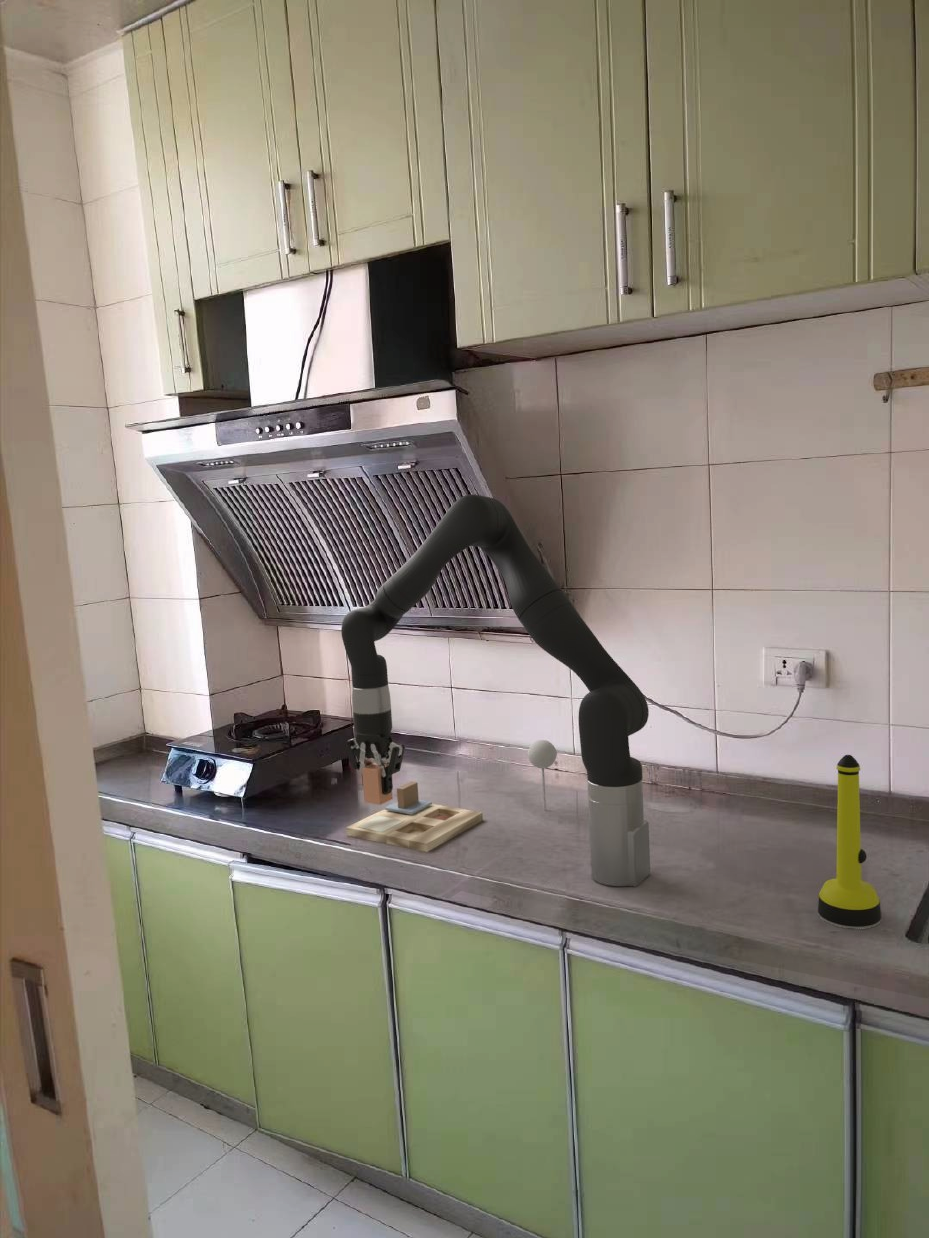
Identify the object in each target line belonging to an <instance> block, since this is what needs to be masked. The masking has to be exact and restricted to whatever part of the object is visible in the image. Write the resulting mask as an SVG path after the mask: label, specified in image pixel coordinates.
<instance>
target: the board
mask: <svg viewBox="0 0 929 1238" xmlns="http://www.w3.org/2000/svg"><path fill="white" fill-rule="evenodd" d="M483 816H484V815H483V812H482V811H478V810H477V811H476V810H470V809H464V808H460V807H459V808H458V807H453V806H446V805H440V804H435V803H432V805H430V806H428V807H426V808H424V809H422V810H420V811H418V812H416V813H414V814H412V815H411V814H405V813H400V812H394V811H389V810H385V808H384V809H381V810H380V811H378V812H376V813H374V814H371V815H369V816H367V817H365V818H363V819H361V820H359V821H357V822H355V823H352V824H350V825H348V826H346V827H345V829H346V836H348V837H353V838H358V839H362V840H366V841H367V840H368V841H373V842H377V843H382V844H386V845H392V846H395V847H396V846H397V847H401V848H405V849H410V850H416V851H420V852H425V853H428V852H430V851H432V850H434V849H435V848H437V847H438V846H440V845H442V844H444V843H446V842H448V841H449V840H451V839H452V838H455V837H456V836H458V835H459V834H461V833H463V832H465V831H466V830H468V829H470V828H472V827H473V826H475V825H478V824H479V823H480V822H482V821H483V820H484V817H483Z"/></svg>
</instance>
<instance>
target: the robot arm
mask: <svg viewBox="0 0 929 1238" xmlns="http://www.w3.org/2000/svg"><path fill="white" fill-rule="evenodd" d="M470 547H477V548H480V549H481V550H482V551H483V552H484V554H486V555H487V556H488V557H489V559H490V561H492V563H493V564H494V565H495V567H496V568H497V569H498V572H500V574H501V576H502V578H503V580H504V583H505V587H506V591H507V595H508V598H509V599H508V600H509V602H510V606H511V608H512V610H513V613H514V614H515V616H516V618H517V619H518V621H519V622H520V623H521V625H522V627H523V628H524V629H525V630H526V632H527V633H528V635H529V636H530V638H531V639H532V640H533V642H534V643H536V645H537V646H539V648H541V649H542V650H544V651H545V652H546V653H547V654H549V655H550V656H552V657H553V658H554V659H556V660H557V661H558V662H560V663H562V664H563V665H564V666H566V667H568V668H569V669H570V670H572V672H573V673H575V675H576V676H577V677H578V678H579V679H580V680H581V682H582V683H583V684H584V686H585V687H586V688H587V690H588V693H587V694H585V695H584V696H583V698H582V700H581V701H580V704H579V709H578V717H577V718H578V733H579V735H578V736H579V743H580V745H579V746H580V755H581V760H582V761H581V762H582V763H583V766H584V768H585V770H586V778H587V781H586V782H587V801H588V802H587V803H588V804H587V805H588V826H589V847H590V849H589V851H590V853H589V854H590V869H591V871H590V872H591V878H592V879H593V880H594V881H595V882H597V883H599V884H602V885H604V886H605V885H606V886H612V887H627V886H629V887H637V886H638V885H639V884H641V883H642V882H643V881H644V880H645V879H647V877H648V876H650V875H651V859H650V858H651V857H650V856H651V855H650V854H651V853H650V824H649V821H648V820H645V819H644V817H645V815H644V790H643V788H644V787H643V783H644V782H643V766H642V763H641V762H640V760H638V759H637V758H635V757H632V756H631V753H630V742H629V741H630V740H629V736H632V735H634V734H635V733H637V732H640V731H641V730H642V729H643V728H644V727H645V726H646V725H647V722H648V719H649V712H650V711H649V704H648V701H647V700H646V697H645V695H644V694H643V692H642V690H641V689H640V688H639V687H638V686H637V684H636V683H635V682H634V681H633V680H632V678H630V676H629V675H628V674H627V673H626V672H625V670H624V669H622V667H621V666H620V665H619V664H618V663H617V661H615V659H613V657H612V656H611V655H610V654H609V653H608V651H607V650H606V648H604V646H603V645H602V644H601V642H600V640H598V638H597V637H596V636H595V634H594V632H593V630H592V629H590V627H589V626H588V624H587V623H586V621H584V619H583V617H581V615H580V613H579V612H578V610H577V609H576V607H575V606H574V605H573V603H572V602H571V600H570V599H569V598H568V596H567V595H566V593H565V592H564V590H563V589H562V588H561V587H560V585H559V584H558V583H557V582H556V581H555V579H554V578H553V577H552V575H551V574H550V572H549V571H548V569H547V568H546V567H545V566H544V564H543V563H542V561H540V559H539V558H538V557H537V556H536V554H535V553H534V551H533V550H532V549H531V547H530V546H529V544H528V542H527V541H526V539H525V537H524V535H523V534H522V532H521V530H520V529H519V527H518V525H517V523H516V521H515V520H514V518H513V516H512V514H511V513H510V511H509V510H508V508H507V507H506V506H505V504H503V503H502V502H501V501H500V500H498V499H496V498H494V497H490V496H484V495H479V494H465V495H463V496H461V497H460V498H458V499H457V500H456V501H455V502H453V504H452V505H451V506H450V507H449V508H448V510H447V511H446V513H445V514H444V515H443V517H441V519H440V520H439V522H438V523H437V525H436V526H435V527H434V529H433V530H432V531H431V532H430V533H429V535H428V536H427V538H426V539H425V540H424V542H423V543H422V544H421V545H420V546H419V548H418V549H417V550H416V551H415V552H414V553H413V554H412V556H411V557H410V558H408V560H407V561H405V563H403V565H402V566H401V567H399V569H398V570H397V571H395V573H394V574H392V575H391V576H390V577H389V578H388V579H387V580H386V581H385V582H384V583H383V584H382V585H381V586H380V587H379V588H378V589H377V591H376V594H375V595H376V596H375V598H374V599H373V600H372V601H371V603H369V604H368V605H366V606H364V607H359V608H356V609H353V610H350V611H349V612H347V613H346V614H345V615H344V617H343V619H342V621H341V629H340V630H341V632H340V633H341V639H342V642H343V645H344V649H345V653H346V655H347V658H348V661H349V664H350V668H351V669H350V670H351V671H350V672H351V683H352V685H351V686H352V687H351V689H352V692H351V702H352V703H351V704H352V706H351V707H352V718H353V729H354V732H355V734H356V736H355V737H354V738H351V739H348V740H346V741H345V742H344V744H345V747H346V748H345V749H346V751H347V753H348V757H349V759H350V764H351V766H352V769H354V770H358V771H359V773H361V774H362V768H363V767H366V766H368V765H370V764H373V763H374V761H375V763H376V765H377V766H379V769H380V773H381V776H382V777H381V785H382V794H384V795H387V794H389V793H391V790H392V791H393V789H394V788H393V775H394V774H396V773H398V772H400V771H401V767H402V763H403V758H404V755H405V749H406V746H405V744H404V743H401V744H398V743H395V742H394V739H393V738H392V734H391V733H392V729H393V715H392V703H391V702H392V701H391V692H390V687H389V679H388V677H389V676H388V665H387V660H386V658H385V656H383V655H381V654H378V653H377V648H376V644H375V642H377V641H380V640H382V639H383V638H384V637H386V636H387V635H388V634H389V633H390V632H391V631H393V630H394V628H395V627H396V626H397V625H398V623H399V622H400V620H401V619H402V618H403V616H404V615H405V614H406V613H408V612H409V611H410V610H411V609H412V608H414V607H415V606H416V605H417V604H418V603H419V602H420V601H422V599H423V598H424V597H425V596H426V595H427V594H428V593H429V592H430V591H431V590H432V587H433V585H434V584H435V583H436V582H437V579H438V578H439V575H440V573H441V572H442V570H443V569H444V568H445V566H446V565H448V563H449V562H450V561H451V560H452V559H453V558H454V557H456V556H457V555H459V554H460V553H462V552H463V551H464V550H466V549H467V548H470ZM385 765H386V768H385ZM361 780H362V781H361V783H362V786H363V776H362V775H361Z"/></svg>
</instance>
